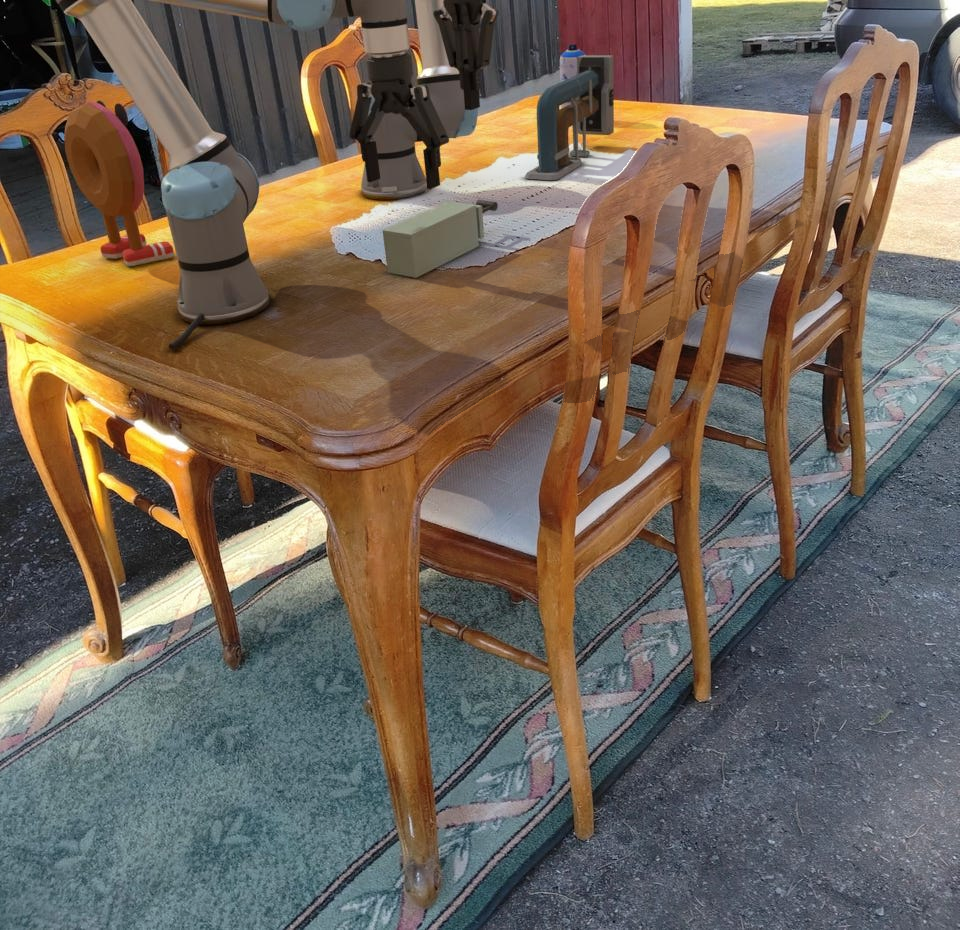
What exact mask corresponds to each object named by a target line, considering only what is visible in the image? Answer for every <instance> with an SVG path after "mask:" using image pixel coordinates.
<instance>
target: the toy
mask: <svg viewBox="0 0 960 930" xmlns="http://www.w3.org/2000/svg"><path fill="white" fill-rule="evenodd" d="M128 124H129V118H128V113H127V111H126V109H125V107H124V106H123V104H121V103H119V102H118V103H115V105H114V111H112V110H111V109H109V108H107V106H106V104H105V103H104V101H101V100H97V101H91V100H89V101H88V102H86V103H84V104H81V105H79V106H77V107H75V108H74V109H72V110H71V111H70V112H69V113H68V116H67V120H66V123H65V126H64V150H65V151H64V152H65V156H66V160H67V164H68V166H69V170H70V172H71V174H72V176H73V178H74V181H75V182H76V185H77V187H78V188H79V190H80V191H81V193H82V194H83V195H84V196H85V197H86V199H87V200H88V202H90V203H91V205H92V206H94V207H95V209H97V210H99V211H100V213H101V217H102V219H103V224H104V227H105V231H106V235H107V238H108V242H106V243H104V244H102V245H101V246H100V253H101V257H102V258H105V259H113V260H116V259H121V258H122V259H123V262H124V264H125V265H126V266H127V267H135V266H140V265H144V264H150V263H154V262H159V261H164V260H167V259H172V258H174V256H175V251H174V246H172V245H171V243H170V242H169V241H160V242H156V243H151V244H148V242H147V240H146V236H145V235H144V233H140V229H139V228H140V227H139V224H138V220H137V218H136V217H137V216H136V214H135V212H136V211H137V210H138V209H139V207H140V206H141V204H142V202H143V200H144V199H143V198H144V194H145V177H144V167H143V162H142V160H141V159H142V158H141V155H140V152H139V150H138V147H137V144H136V143H135V140H134V138H133V136H132V135H131V133H130V131H129V130H128V128H127V126H128ZM117 217H122V221H123V225H124V229H125V232H126V234H124V235H122V236H121V233H120V229H119V224H118V221H117Z"/></svg>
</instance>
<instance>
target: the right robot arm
mask: <svg viewBox="0 0 960 930" xmlns="http://www.w3.org/2000/svg"><path fill="white" fill-rule="evenodd" d="M414 6H415V7H414V8H415V14H416V15H415V16H416V22H417V23H416V24H417V31H418V40H419V41H418V42H419V49H420V56H421V57H420V58H421V66H422V69H421V71H420V72H419V74H418V75H417V77H416V82H417V86H416V87H418V86H421V85H425V84H426V85H427V86H428V88H429V93H430V99H431V101H432V103H433V105H434V107H435V109H436V112H437V114H438V116H439V118H440V120H441V122H442V125H443V127H444V129H445V131H446V133H447V135H448V138H449V139H458V138H461V137H468V136H470V135H472V134H473V133H474V132H475V130H476V128H477V125H478V124H477V123H478V114H479V109H480V108H481V100H480V90H481V89H482V85H483V84H482V72H481V71H482V69H484V68H486V67H489V65H490V64H491V62H490V61H491V54H492V48H493V47H492V45H493V39H494V30H495V23H496V20H497V18H498V16H499V9H498V8H492V7H491V6H490V5H489V4H487V0H414ZM413 100H414V99H413ZM374 101H375V99H374V97H373V96H372V100H371V104H370V109H371V107H372V105H373V103H374ZM414 101H415V103H416V100H414ZM416 104H417V103H416ZM409 108H410V107H409ZM370 109H369V113H368V116H369V114H370V112H371V110H370ZM419 112H420V111H419ZM367 118H368V117H367ZM373 138H374V139H373ZM373 138H372V139H373V140H370V142H371V141H376V147H377V155H378V163H379V171H380V179H378V180H375V181H373V182H367V175H366V167H365V164H364V167H363V171H362V177H361V182H360V192H361V195H362V196H363V197H364V198H367V199H371V200H380V201H384V200H385V201H389V200H390V201H391V200H400V199H406V198H410V197H414V196H417V195H420V194H422V193H424V192H425V191H426V190H428V189H427V182H426V174H425V173H424V170H423V168H422V165H421V163H420V161H419V159H418V157H417V152H416V151H417V150H416V143H418V142H423V141H422V140H421V138H420V137H419V136H418V134H417V133H416V131H415V130H414V129H413V127H412V126H411V124H410V123H409V122H408V120H407V119H406V118H405V117H403V116H402V115H401V114H394V113H385V114H384V116H383V118H382V120H381V122H380V124H379V126H378V128H377V130H376V131H375V133H374V135H373Z"/></svg>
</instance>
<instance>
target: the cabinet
mask: <svg viewBox="0 0 960 930" xmlns="http://www.w3.org/2000/svg"><path fill="white" fill-rule="evenodd" d="M462 203H463V202H455V201H454V202H453V201H446V202H444V203H441V204H439V205H437V206H436V205H435V206H434V207H432V208H430V209H427V210H425V211H423V212H420V213H418V214H416V215H413V216H412V217H411V216H410V217H409V218H406V219H404V220H403V221H399V222H398V223H395V224H393V225H391V226H388V227H386V228H384V229H382V238H383V239H382V240H383V245H384V255H385V261H386V269H387V273H388V274H393V275H397V276H398V275H399V276H403V277H409V278H414V279H417V278H419V277H421V276H423V275H424V274H427V273H429V272H431V271H433V270H435V269H437V268H438V267H441V266H442V265H444V264H447V263H449V262H450V261H452V260H455V259H456V258H458V257H460V256H462V255H464V254H467V253H468V252H470V251H472V250H474V249H476V248H478V247H479V246H480V242H479V239H478V228H477V215H476V204H473V205H470V204H471V203H465V204H462Z"/></svg>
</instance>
